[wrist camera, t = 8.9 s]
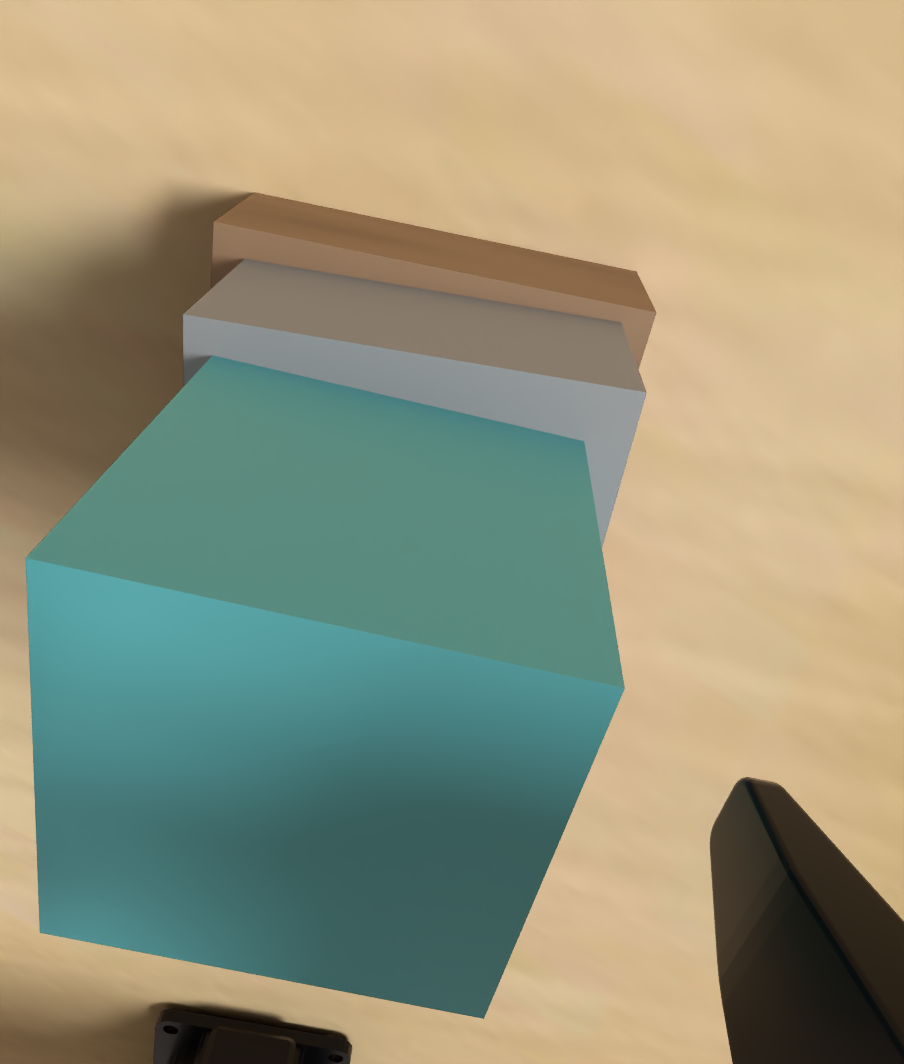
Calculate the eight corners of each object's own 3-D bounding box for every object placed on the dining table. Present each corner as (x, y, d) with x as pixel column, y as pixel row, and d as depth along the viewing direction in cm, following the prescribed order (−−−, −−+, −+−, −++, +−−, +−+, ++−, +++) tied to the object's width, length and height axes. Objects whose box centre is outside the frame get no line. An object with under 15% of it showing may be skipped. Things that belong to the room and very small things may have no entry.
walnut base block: (543, 569, 20) (548, 653, 17) (239, 512, 19) (198, 588, 17) (632, 264, 16) (656, 312, 14) (261, 187, 16) (214, 221, 13)
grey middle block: (543, 622, 17) (548, 731, 14) (236, 573, 17) (185, 674, 14) (621, 321, 14) (646, 393, 11) (245, 258, 14) (183, 314, 11)
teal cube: (493, 714, 14) (483, 1018, 10) (188, 649, 14) (38, 932, 9) (584, 441, 12) (624, 687, 7) (213, 354, 11) (25, 558, 7)
